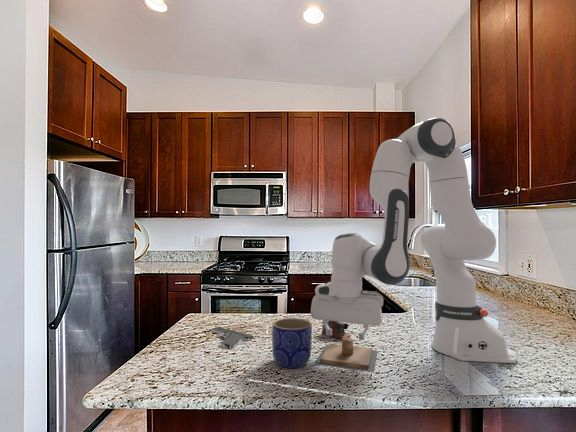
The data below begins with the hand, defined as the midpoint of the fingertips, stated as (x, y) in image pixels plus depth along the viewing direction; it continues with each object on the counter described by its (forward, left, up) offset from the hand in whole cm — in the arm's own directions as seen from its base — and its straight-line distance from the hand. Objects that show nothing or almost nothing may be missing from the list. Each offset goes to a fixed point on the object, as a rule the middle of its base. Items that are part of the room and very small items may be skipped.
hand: (345, 337), depth 96 cm
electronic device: (+6, -18, -6) cm, 20 cm away
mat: (-1, 0, -6) cm, 6 cm away
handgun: (+41, -4, -7) cm, 42 cm away
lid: (-1, 0, -6) cm, 6 cm away
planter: (+13, +9, -6) cm, 17 cm away
